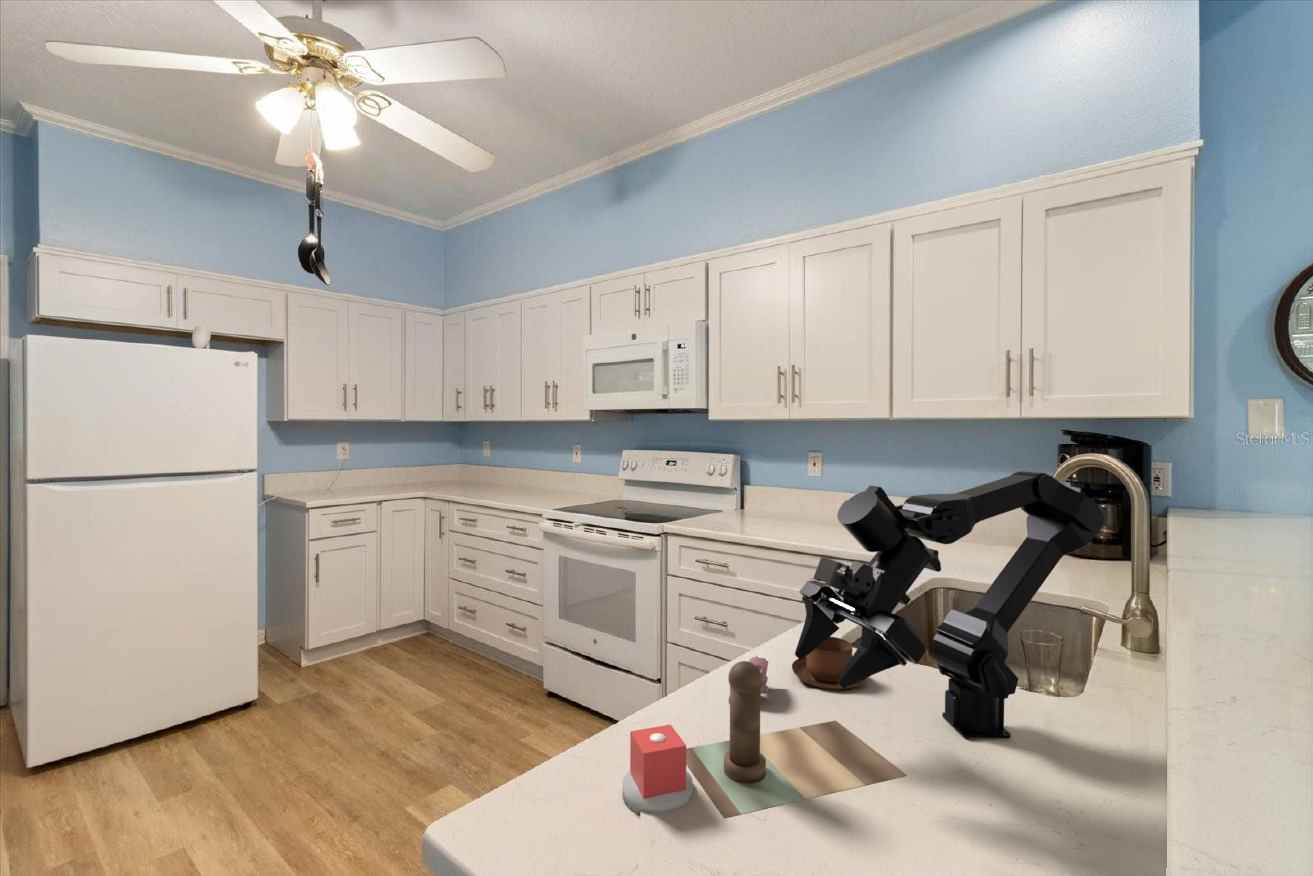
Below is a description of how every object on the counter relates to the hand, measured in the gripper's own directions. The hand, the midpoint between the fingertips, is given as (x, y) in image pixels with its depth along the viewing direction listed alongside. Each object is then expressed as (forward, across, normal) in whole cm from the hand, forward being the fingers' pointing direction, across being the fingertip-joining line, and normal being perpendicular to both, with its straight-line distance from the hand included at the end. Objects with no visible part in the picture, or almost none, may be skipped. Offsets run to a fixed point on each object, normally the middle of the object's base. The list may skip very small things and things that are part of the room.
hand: (817, 670), depth 76 cm
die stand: (+23, 0, -7) cm, 24 cm away
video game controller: (+8, -19, +9) cm, 22 cm away
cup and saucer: (-2, -20, +20) cm, 28 cm away
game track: (+11, 0, +5) cm, 12 cm away
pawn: (+15, 0, 0) cm, 15 cm away
